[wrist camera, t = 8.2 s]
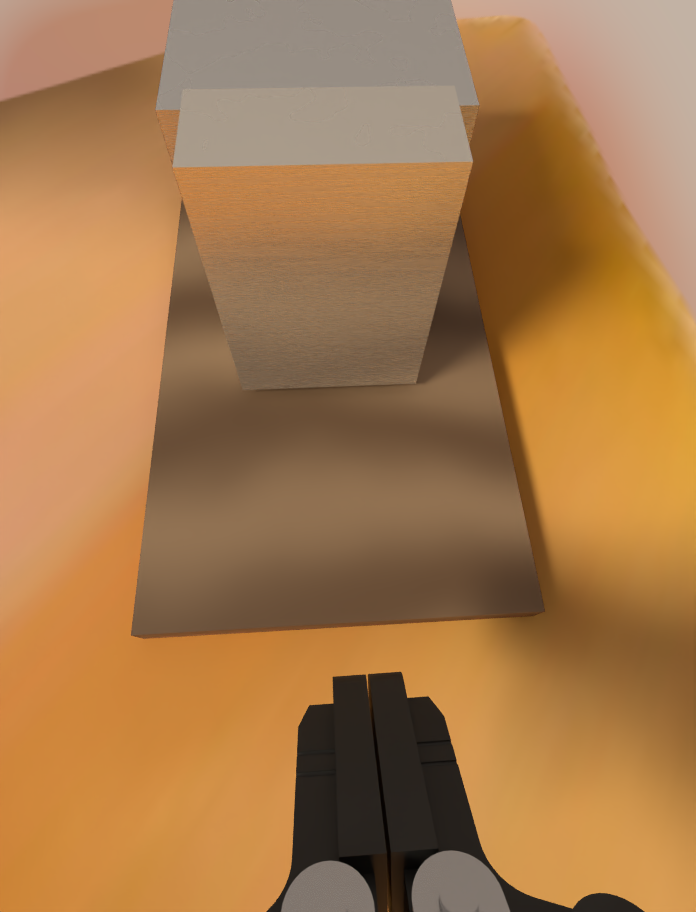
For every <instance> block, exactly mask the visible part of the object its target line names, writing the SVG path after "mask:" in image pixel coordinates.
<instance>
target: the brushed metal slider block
mask: <svg viewBox="0 0 696 912" xmlns="http://www.w3.org/2000/svg"><path fill="white" fill-rule="evenodd" d="M472 164H473V159H472V155H471V151H470V147H469V142H468V138H467V134H466V130H465V126H464V122H463V118H462V114H461V110H460V106H459V102H458V97H457V93H456V89H455V86H380V87H303V88H226V89H183V92H182V100H181V107H180V115H179V122H178V130H177V137H176V145H175V152H174V160H173V167H172V168H173V171H174V174H175V177H176V180H177V183H178V187H179V190H180V193H181V196H182V199H183V202H184V206H185V209H186V212H187V215H188V218H189V221H190V225H191V228H192V231H193V234H194V237H195V240H196V244H197V247H198V250H199V253H200V256H201V259H202V263H203V266H204V269H205V272H206V275H207V278H208V282H209V285H210V288H211V291H212V294H213V297H214V301H215V304H216V307H217V310H218V313H219V316H220V320H221V323H222V326H223V329H224V332H225V335H226V339H227V342H228V345H229V348H230V351H231V354H232V358H233V361H234V364H235V367H236V370H237V373H238V377H239V380H240V383H241V386H242V389H243V390H260V389H286V388H313V387H339V386H365V385H391V384H416V381H417V377H418V373H419V369H420V365H421V362H422V358H423V354H424V350H425V346H426V342H427V338H428V335H429V331H430V327H431V323H432V319H433V315H434V311H435V307H436V304H437V300H438V296H439V292H440V288H441V284H442V280H443V276H444V273H445V269H446V265H447V261H448V257H449V253H450V249H451V246H452V242H453V238H454V234H455V230H456V226H457V222H458V218H459V215H460V211H461V207H462V203H463V199H464V195H465V191H466V188H467V184H468V180H469V176H470V172H471V168H472Z"/></svg>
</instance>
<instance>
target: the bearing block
mask: <svg viewBox="0 0 696 912" xmlns="http://www.w3.org/2000/svg"><path fill="white" fill-rule="evenodd" d="M380 86H455V89H456V93H457V97H458V102H459V106H460V110H461V114H462V118H463V122H464V126H465V130H466V134H467V138H468V142H469V146H470V142H471V138H472V134H473V129H474V125H475V121H476V117H477V113H478V109H479V102H478V98H477V95H476V91H475V87H474V84H473V80H472V76H471V72H470V69H469V65H468V61H467V58H466V54H465V50H464V47H463V43H462V39H461V36H460V32H459V28H458V25H457V21H456V17H455V14H454V10H453V6H452V3H451V0H174V1H173V7H172V13H171V19H170V26H169V31H168V37H167V44H166V49H165V55H164V61H163V67H162V73H161V79H160V85H159V91H158V97H157V103H156V109H155V111H156V114H157V117H158V120H159V123H160V126H161V130H162V133H163V136H164V139H165V142H166V146H167V149H168V152H169V155H170V158H171V161H172V165H173V160H174V152H175V145H176V137H177V130H178V122H179V115H180V107H181V100H182V92H183V89H226V88H303V87H380Z"/></svg>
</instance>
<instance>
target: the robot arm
mask: <svg viewBox="0 0 696 912" xmlns="http://www.w3.org/2000/svg"><path fill="white" fill-rule="evenodd" d="M368 694H369V698H368ZM333 700H334V704H322V705H309V707H308V709H307V711H306V713H305V715H304V717H303V719H302V721H301V723H300V725H299V727H298V745H297V767H296V788H295V809H294V831H293V852H292V865H291V870H290V874H289V878H288V880H287V883H286V885H285V887H284V889H283V891H282V893H281V895H280V896H279V898H278V899H277V900H276V902H275V903H274V904H273V905H272V906H271V907H270V909H269V910H268V911H267V912H388V911H389V912H644V911H643V910H641V909H640V908H639V907H637V906H636V905H634V904H633V903H631V902H629V901H627V900H625V899H623V898H621V897H618V896H615V895H611V894H605V893H597V894H591V895H588V896H586V897H584V898H582V899H581V900H580V901H578V903H577V904H576V905H575V906H574V908H573V909H571V908H568V907H565V906H561V905H558V904H555V903H551V902H548V901H544V900H541V899H538V898H534V897H532V896H529V895H526V894H524V893H522V892H520V891H519V890H517V889H515V888H514V887H512V886H511V885H509V884H508V883H507V882H506V881H505V880H504V879H502V878H501V877H500V876H499V875H498V873H497V872H496V871H495V870H494V869H493V867H492V866H491V864H490V863H489V862H488V860H487V858H486V856H485V854H484V852H483V850H482V847H481V844H480V841H479V838H478V834H477V831H476V827H475V824H474V820H473V817H472V813H471V810H470V806H469V802H468V799H467V795H466V792H465V788H464V785H463V781H462V778H461V774H460V771H459V767H458V765H457V762H456V757H455V753H454V750H453V746H452V745H451V739H450V736H449V732H448V728H447V725H446V721H445V718H444V715H443V714H442V713H441V712H440V710H439V709H438V708H437V707H436V705H435V704H434V703H433V702H432V700H431V699H430V698H429V697H415V698H407V695H406V690H405V685H404V680H403V676H402V673H401V672H392V673H378V674H368V689H367V681H366V675H352V676H338V677H333Z"/></svg>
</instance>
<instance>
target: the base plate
mask: <svg viewBox="0 0 696 912" xmlns="http://www.w3.org/2000/svg"><path fill="white" fill-rule="evenodd" d="M542 612H545V609H544V605H543V600H542V595H541V591H540V586H539V581H538V577H537V572H536V567H535V563H534V558H533V553H532V549H531V544H530V539H529V535H528V530H527V525H526V520H525V516H524V511H523V506H522V502H521V497H520V492H519V488H518V483H517V478H516V474H515V469H514V464H513V460H512V455H511V450H510V446H509V441H508V436H507V432H506V427H505V422H504V418H503V413H502V408H501V404H500V399H499V394H498V390H497V385H496V380H495V376H494V371H493V366H492V362H491V357H490V352H489V348H488V343H487V338H486V333H485V329H484V324H483V319H482V315H481V310H480V305H479V301H478V296H477V291H476V287H475V282H474V277H473V273H472V268H471V263H470V259H469V254H468V249H467V245H466V240H465V235H464V231H463V226H462V221H461V217H460V215H459V218H458V222H457V226H456V230H455V234H454V238H453V242H452V246H451V249H450V253H449V257H448V261H447V265H446V269H445V273H444V276H443V280H442V284H441V288H440V292H439V296H438V300H437V304H436V307H435V311H434V315H433V319H432V323H431V327H430V331H429V335H428V338H427V342H426V346H425V350H424V354H423V358H422V362H421V365H420V369H419V373H418V377H417V381H416V384H391V385H365V386H339V387H313V388H286V389H260V390H243V389H242V386H241V383H240V380H239V377H238V373H237V370H236V367H235V364H234V361H233V358H232V354H231V351H230V348H229V345H228V342H227V339H226V335H225V332H224V329H223V326H222V323H221V320H220V316H219V313H218V310H217V307H216V304H215V301H214V297H213V294H212V291H211V288H210V285H209V282H208V278H207V275H206V272H205V269H204V266H203V263H202V259H201V256H200V253H199V250H198V247H197V244H196V240H195V237H194V234H193V231H192V228H191V225H190V221H189V218H188V215H187V212H186V209H185V206H184V202H183V199H182V203H181V211H180V220H179V228H178V237H177V245H176V254H175V263H174V271H173V280H172V288H171V297H170V305H169V314H168V322H167V331H166V340H165V348H164V357H163V365H162V374H161V382H160V391H159V400H158V408H157V417H156V425H155V434H154V442H153V451H152V460H151V468H150V477H149V485H148V494H147V502H146V511H145V520H144V528H143V537H142V545H141V554H140V562H139V571H138V579H137V588H136V597H135V605H134V614H133V622H132V631H131V636H135V637H139V638H143V639H146V638H163V637H180V636H197V635H214V634H232V633H249V632H266V631H283V630H300V629H317V628H334V627H352V626H369V625H386V624H403V623H420V622H437V621H454V620H471V619H489V618H506V617H523V616H534V615H536V614H539V613H542Z"/></svg>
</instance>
